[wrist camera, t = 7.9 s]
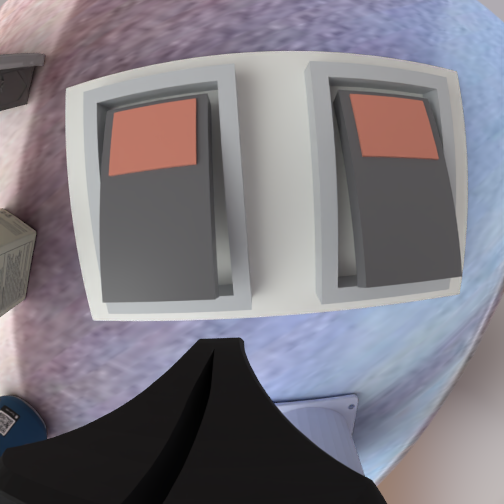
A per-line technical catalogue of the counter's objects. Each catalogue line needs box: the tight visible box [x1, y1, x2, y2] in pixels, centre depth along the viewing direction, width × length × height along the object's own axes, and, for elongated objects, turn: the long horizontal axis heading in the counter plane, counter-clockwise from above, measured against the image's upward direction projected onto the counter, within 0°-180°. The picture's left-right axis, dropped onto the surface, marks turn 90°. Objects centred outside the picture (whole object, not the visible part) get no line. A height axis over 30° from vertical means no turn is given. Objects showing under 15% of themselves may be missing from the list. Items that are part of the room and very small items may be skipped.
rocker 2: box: [333, 90, 462, 288], centre depth 13 cm, size 9×5×1 cm, turn 4°
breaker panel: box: [66, 51, 468, 321], centre depth 15 cm, size 14×23×4 cm, turn 94°
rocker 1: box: [99, 93, 219, 303], centre depth 13 cm, size 9×5×1 cm, turn 4°
